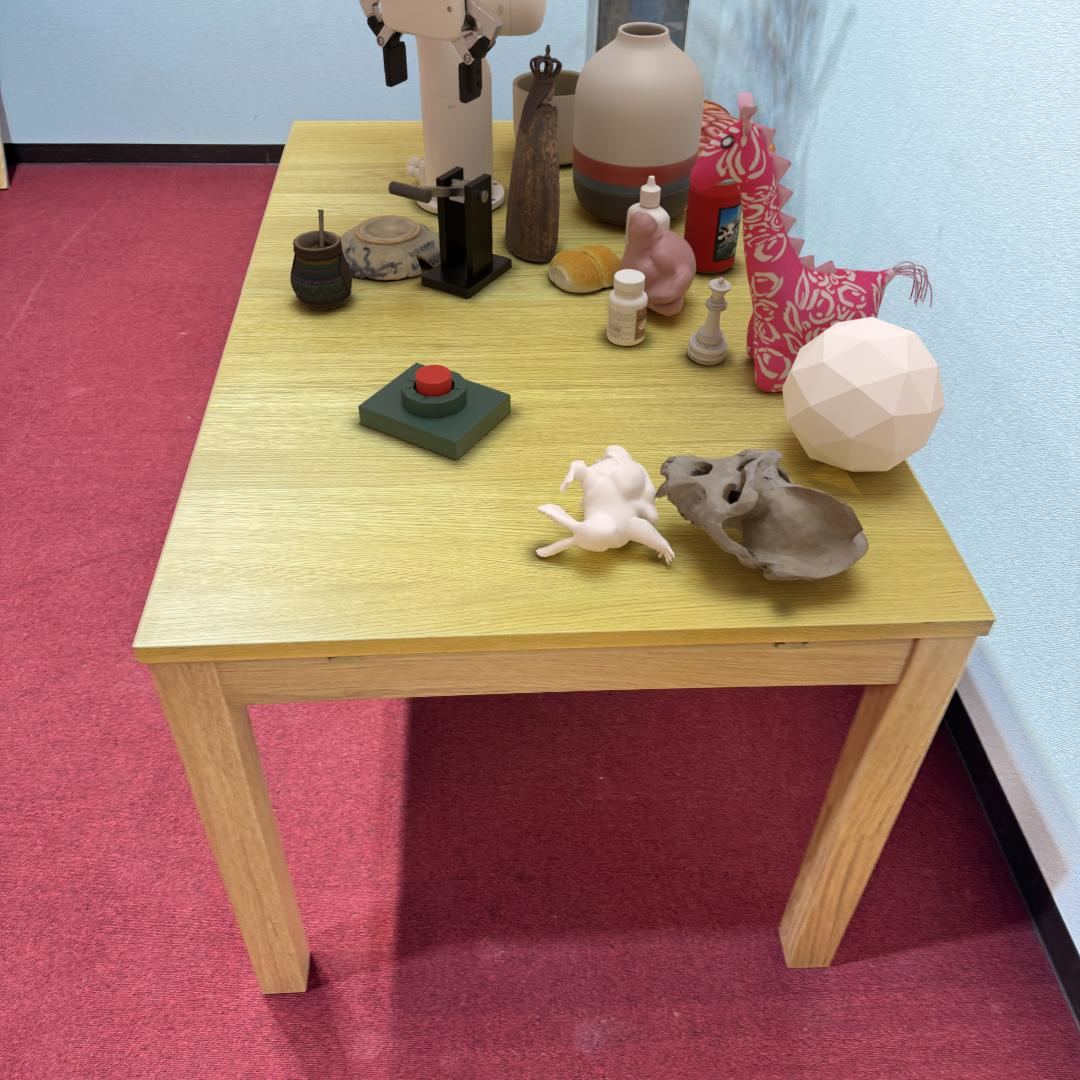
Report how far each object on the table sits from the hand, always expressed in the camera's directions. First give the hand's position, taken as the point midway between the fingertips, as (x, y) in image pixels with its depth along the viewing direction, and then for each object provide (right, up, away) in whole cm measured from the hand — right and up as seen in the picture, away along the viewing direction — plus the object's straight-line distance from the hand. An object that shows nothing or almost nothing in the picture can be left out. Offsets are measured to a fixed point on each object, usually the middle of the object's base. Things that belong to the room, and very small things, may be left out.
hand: (433, 91), depth 116 cm
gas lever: (0, -9, +9) cm, 13 cm away
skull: (+25, -49, -15) cm, 57 cm away
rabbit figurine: (+20, -46, -18) cm, 53 cm away
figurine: (+26, -20, +14) cm, 36 cm away
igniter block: (+1, -36, -5) cm, 36 cm away
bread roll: (+17, -16, +19) cm, 30 cm away
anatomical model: (+42, +4, +36) cm, 55 cm away
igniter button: (+1, -33, -7) cm, 34 cm away
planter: (+14, +10, +50) cm, 52 cm away
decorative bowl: (-8, -11, +24) cm, 28 cm away
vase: (+24, -2, +35) cm, 43 cm away
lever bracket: (+2, -15, +20) cm, 25 cm away
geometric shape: (+41, -32, -7) cm, 53 cm away
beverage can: (+33, -13, +23) cm, 42 cm away
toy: (+39, -31, +2) cm, 50 cm away
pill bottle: (+21, -25, +8) cm, 34 cm away
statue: (+11, -10, +26) cm, 30 cm away
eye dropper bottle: (+25, -14, +22) cm, 36 cm away
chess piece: (+30, -28, +5) cm, 41 cm away
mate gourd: (-15, -20, +14) cm, 28 cm away
